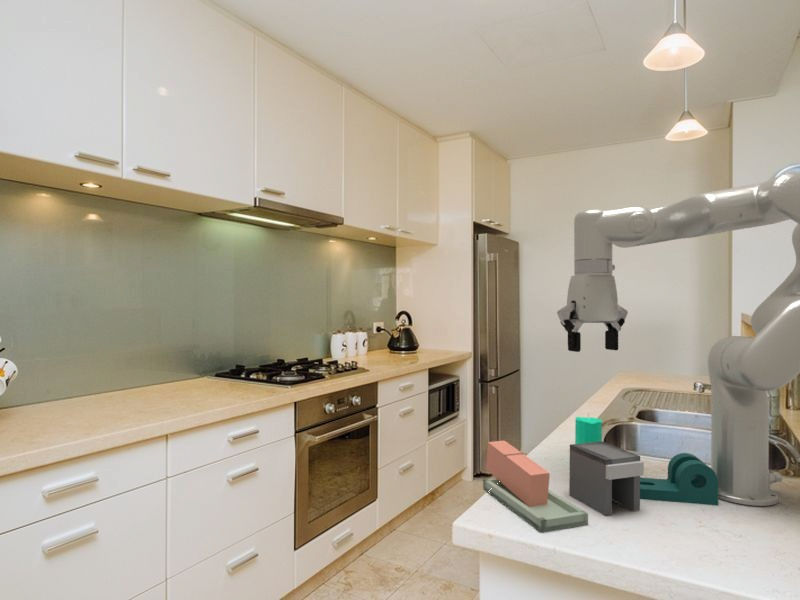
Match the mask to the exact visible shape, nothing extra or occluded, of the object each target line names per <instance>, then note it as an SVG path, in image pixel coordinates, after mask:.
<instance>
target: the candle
mask: <svg viewBox="0 0 800 600" xmlns="http://www.w3.org/2000/svg"><path fill="white" fill-rule="evenodd" d="M602 422H603V421H602V419H601V418H598V417H597V418H596V417H590V412H588V413H587V417H583V416H582V417H581V416H575V428H574V429H575V431H574V432H575V433H574V434H575V437H574V438H575V440H574V442H575V443H574V444H581V443H591V442H601V441H602V438H603V437H602V436H603V435H602V434H603V431H602V429H603V428H602V427H603V423H602ZM602 442H603V441H602Z"/></svg>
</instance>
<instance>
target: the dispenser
mask: <svg viewBox="0 0 800 600" xmlns="http://www.w3.org/2000/svg"><path fill="white" fill-rule="evenodd" d="M643 476H644V461H641V455H639V454H636V453H634V452H632V451H631V452H630V451H628V450H625V449H623V448H621V447H617V446H614V445H612V444H610V443H607V442H604V441H601V442H591V443H581V444H575V443H574V444H573V443H572V444H569V481H568V482H569V491H568V492H569V496H571V497H572V498H573V499H576V500H577V501H579V502H581V503H582V504H584V505H586V506H587V507H589V508H591V509H592V510H594V511H596V512H598V513H600V514H601V515H603V516H605V517H607V516H612V515H613V513H612V512H613V509H612V508H613V502H615V503H617V504H619V505H621V506H623V507H625V508H627V509H629V510H630V511H633V512H637V511H640V510H641V499H640V477H643ZM612 501H613V502H612Z"/></svg>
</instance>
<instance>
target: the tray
mask: <svg viewBox="0 0 800 600" xmlns="http://www.w3.org/2000/svg"><path fill="white" fill-rule="evenodd" d="M482 480H483V481H482V484H483V485H482V489H483V490H484V491H485V492H486V493H487V494H489V495H491V496H492V497H493V498H494V499H496V500H497V501H499V502H500V503H501V504H502V505H504V506H505V507H506V508H508V509H509V510H510V511H512V512H513V513H514V514H516V515H518V517H520V518H521V519H523V520H524V521H525V522H526V523H528V524H529V525H530V526H532V527H533V528H534V529H536V530H537V531H538V532H539V533H542V534H543V533H547V532H552V531H558V530H565V529H570V528H577V527H582V526H588V525H589V512H588V511H585V510H584V509H582V508H580V507H578V506H577V505H575V504H574V503H572V502H570V501H569V500H567V499H565V498H564V497H562V496H560V495H558V494H557V493H556V492H554V491H552V490H550V489H548V501H547V504H544V505H538V506H531V507H528V506H527V505H526V504H525V503H524V502H523V501H522V500H520V499H519V498H518V497H517V496H516V495H515V494H514V493H512V492H511V491H510V490H509V489H508V488H507V487H506V486H505V485H503V484H502V483H501V482H499V480H498V479H497V478H495V477H493V478H483V479H482ZM497 483H498V484H497ZM491 488H492V489H491ZM490 489H491V490H490ZM489 490H490V491H489ZM488 491H489V492H490V493H489V492H488Z"/></svg>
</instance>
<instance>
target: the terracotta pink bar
mask: <svg viewBox="0 0 800 600" xmlns="http://www.w3.org/2000/svg"><path fill="white" fill-rule="evenodd" d="M486 451H487V453H486V464H485V465H486V467H485V468H486V471H487V472H489V473H490V474H491V476H493V478H497V479H498V480H499V481H500V482H501V483H502V484H503V485H505V486H506V487H507V488H508V489H509V490H510V491H511V492H512V493H514V494H515V495H516V496H517V497H518V498H519V499H520V500H522V501H523V502H524V503H525V504H526V505H527V506H528V507H531V506H538V505H544V504H547V501H548V490H549V489H550V487H549V486H550V471H548V470H546V469H545V468H543V467H542V466H540V464H538V463H537V462H535V461H534V460H532V459H531V458H529V457H528V456H527V455H525V454H524V453H523V452H521V451H520V450H519V449H518V448H515V447H514V446H513V445H512V444H510V443H509V442H507V441H506V440H496V441H488V442H487V450H486Z"/></svg>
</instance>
